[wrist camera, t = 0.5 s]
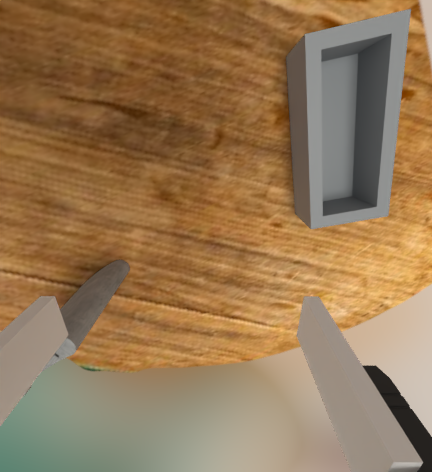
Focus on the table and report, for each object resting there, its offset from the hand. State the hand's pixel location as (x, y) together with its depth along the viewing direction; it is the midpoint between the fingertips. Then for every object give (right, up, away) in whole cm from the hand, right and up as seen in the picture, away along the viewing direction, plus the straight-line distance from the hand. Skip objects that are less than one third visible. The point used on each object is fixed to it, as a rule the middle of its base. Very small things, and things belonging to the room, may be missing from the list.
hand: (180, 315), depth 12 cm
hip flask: (-21, -5, +32) cm, 38 cm away
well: (+18, +19, +21) cm, 33 cm away
